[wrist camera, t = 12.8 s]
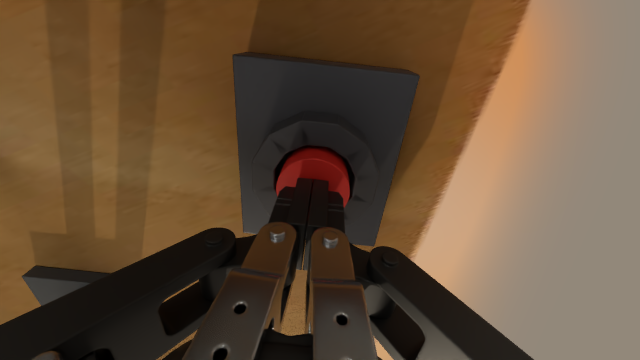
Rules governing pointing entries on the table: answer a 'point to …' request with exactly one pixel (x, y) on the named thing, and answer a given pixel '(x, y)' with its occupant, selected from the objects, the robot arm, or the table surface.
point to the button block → (320, 130)
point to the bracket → (57, 282)
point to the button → (316, 169)
